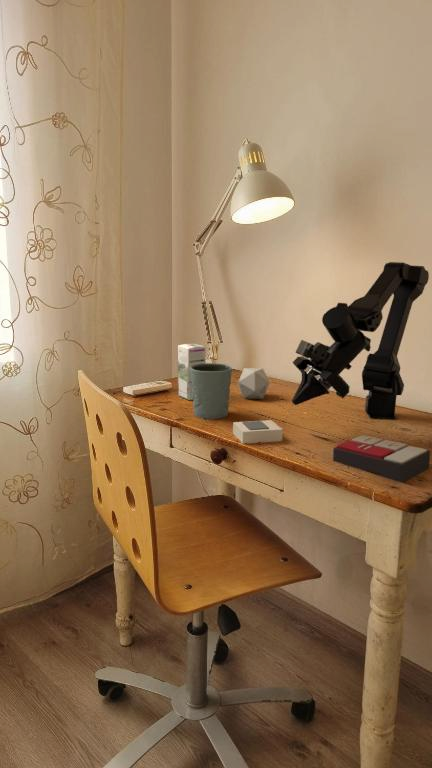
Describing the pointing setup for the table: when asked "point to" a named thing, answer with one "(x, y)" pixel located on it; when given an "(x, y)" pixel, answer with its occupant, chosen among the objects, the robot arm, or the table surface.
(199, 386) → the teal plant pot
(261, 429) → the white box grey panel
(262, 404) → the table surface
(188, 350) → the syrup box
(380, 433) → the table surface
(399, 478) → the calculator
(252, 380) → the die
